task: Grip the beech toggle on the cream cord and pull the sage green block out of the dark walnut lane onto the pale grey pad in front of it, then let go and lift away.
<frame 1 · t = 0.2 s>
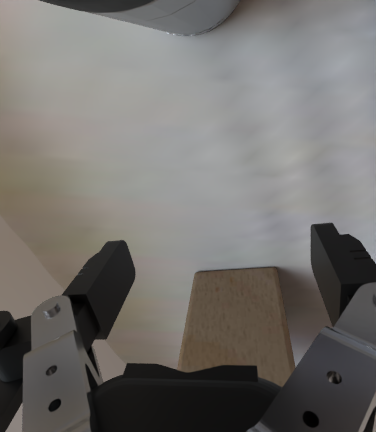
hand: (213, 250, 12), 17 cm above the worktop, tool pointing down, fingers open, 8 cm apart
wooden block: (238, 296, 37), on the worktop
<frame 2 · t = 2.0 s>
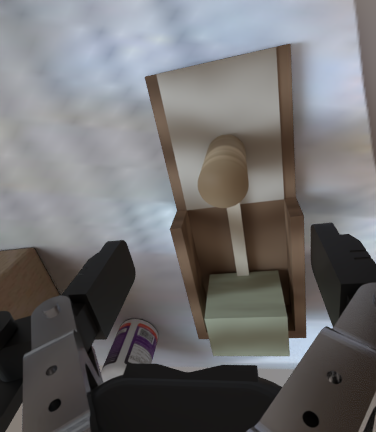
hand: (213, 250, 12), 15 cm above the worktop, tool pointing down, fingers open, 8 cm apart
string block: (237, 256, 25), point 5 cm above the worktop, slide at 0.0 cm
pill bottle: (140, 330, 39), on the worktop
lane: (235, 208, 28), on the worktop
wooden block: (20, 279, 38), on the worktop
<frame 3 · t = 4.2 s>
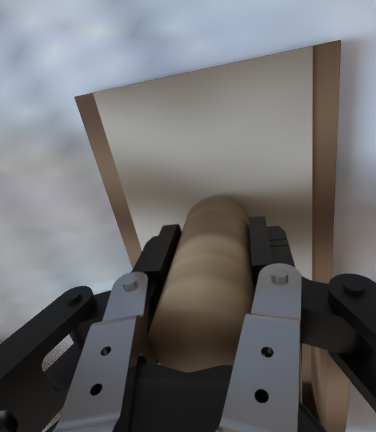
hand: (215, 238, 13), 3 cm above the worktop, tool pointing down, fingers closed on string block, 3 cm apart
string block: (235, 395, 15), point 5 cm above the worktop, slide at 0.0 cm, touching gripper
lane: (232, 295, 18), on the worktop
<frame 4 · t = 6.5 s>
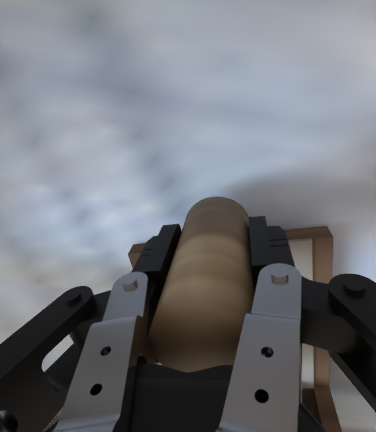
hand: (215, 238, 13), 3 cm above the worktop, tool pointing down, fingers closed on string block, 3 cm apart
string block: (237, 394, 15), point 5 cm above the worktop, slide at 8.6 cm, touching gripper
lane: (247, 380, 22), on the worktop
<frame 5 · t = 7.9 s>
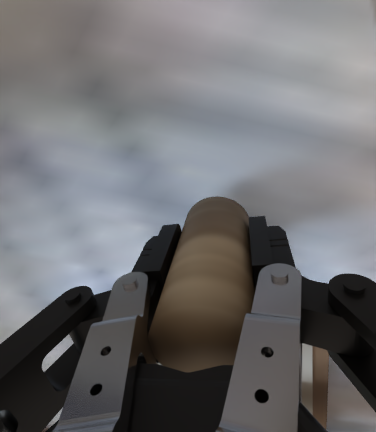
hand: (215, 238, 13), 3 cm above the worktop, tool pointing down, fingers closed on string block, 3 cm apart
string block: (236, 394, 15), point 5 cm above the worktop, slide at 14.3 cm, touching gripper
lane: (253, 422, 24), on the worktop
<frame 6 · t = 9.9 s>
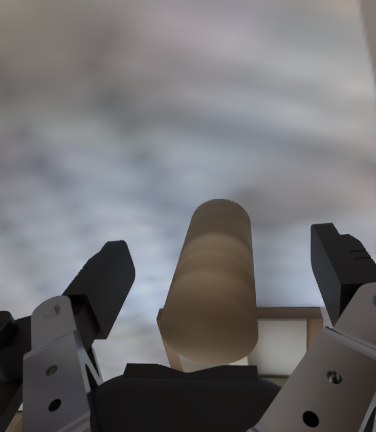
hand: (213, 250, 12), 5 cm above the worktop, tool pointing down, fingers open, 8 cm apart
string block: (234, 383, 16), point 5 cm above the worktop, slide at 14.4 cm
lane: (249, 416, 26), on the worktop
wooden block: (13, 430, 35), on the worktop
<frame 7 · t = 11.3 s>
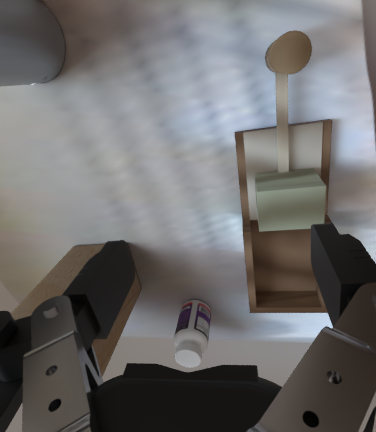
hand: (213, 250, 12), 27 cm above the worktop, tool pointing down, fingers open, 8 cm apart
string block: (286, 139, 31), point 5 cm above the worktop, slide at 14.4 cm
pill bottle: (196, 309, 51), on the worktop
lane: (282, 220, 40), on the worktop
wooden block: (109, 266, 50), on the worktop
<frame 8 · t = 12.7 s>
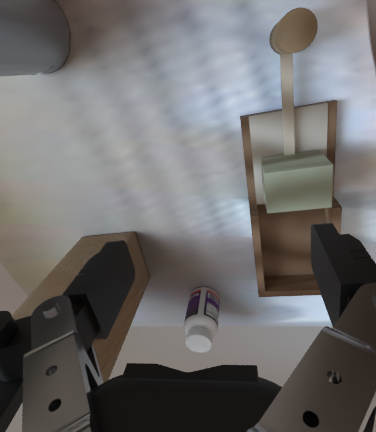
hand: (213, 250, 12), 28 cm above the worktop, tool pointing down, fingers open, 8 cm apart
string block: (292, 120, 31), point 5 cm above the worktop, slide at 14.4 cm
pill bottle: (204, 296, 52), on the worktop
lane: (289, 203, 41), on the worktop
wooden block: (117, 256, 50), on the worktop
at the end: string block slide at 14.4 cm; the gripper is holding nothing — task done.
